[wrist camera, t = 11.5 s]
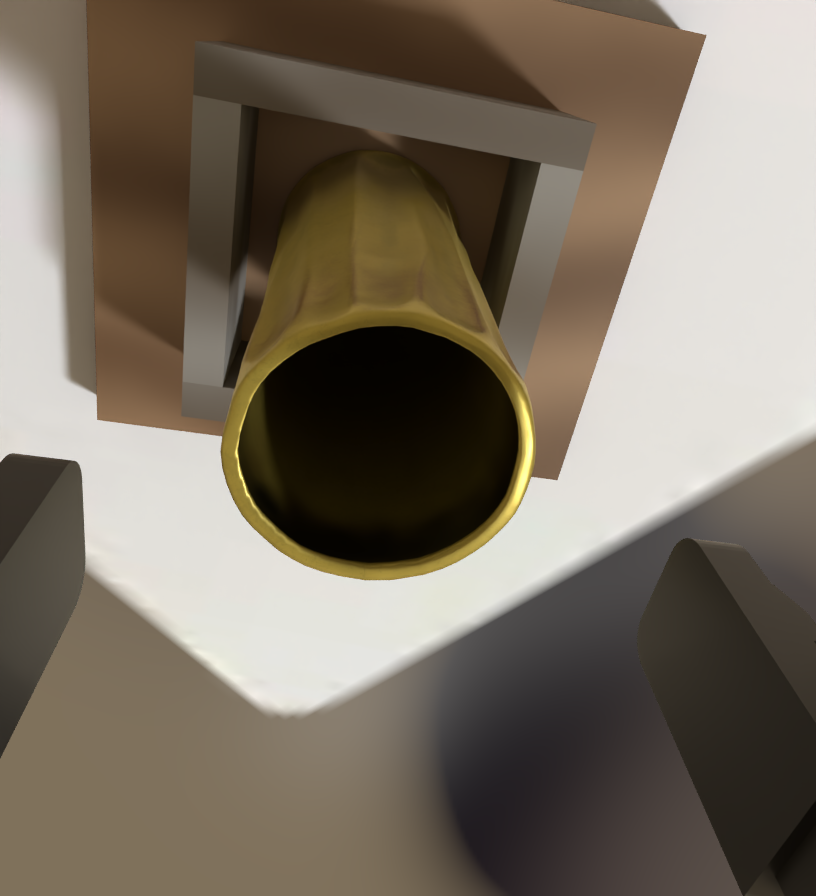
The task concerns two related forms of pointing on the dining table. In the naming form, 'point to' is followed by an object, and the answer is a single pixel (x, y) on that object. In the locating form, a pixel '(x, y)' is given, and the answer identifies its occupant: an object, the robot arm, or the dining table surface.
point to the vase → (376, 383)
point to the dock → (366, 128)
